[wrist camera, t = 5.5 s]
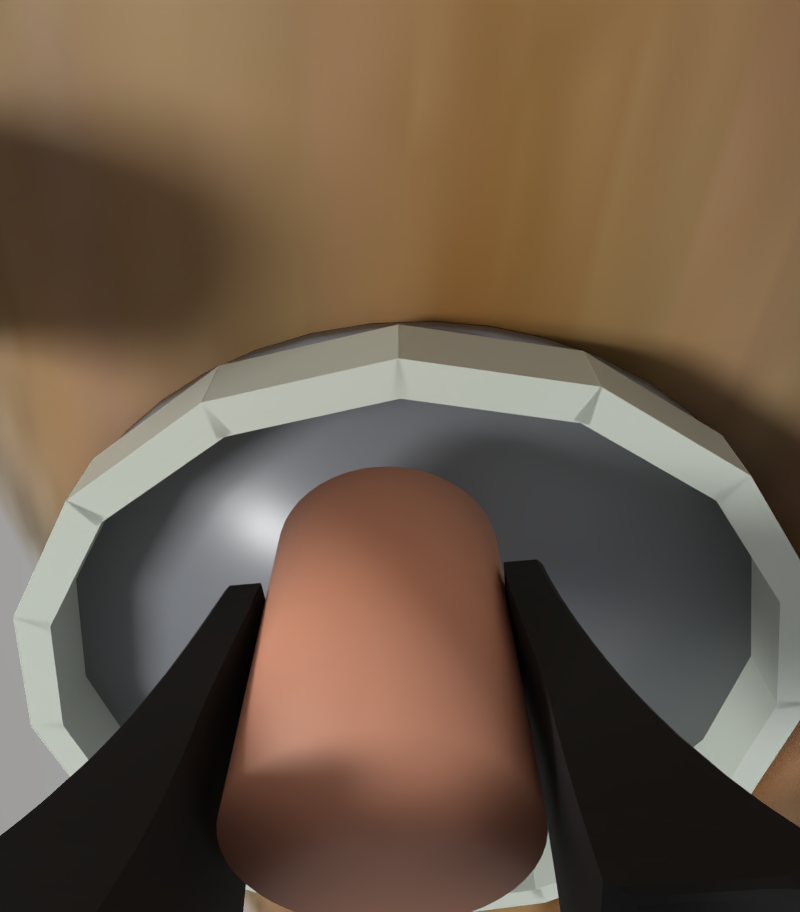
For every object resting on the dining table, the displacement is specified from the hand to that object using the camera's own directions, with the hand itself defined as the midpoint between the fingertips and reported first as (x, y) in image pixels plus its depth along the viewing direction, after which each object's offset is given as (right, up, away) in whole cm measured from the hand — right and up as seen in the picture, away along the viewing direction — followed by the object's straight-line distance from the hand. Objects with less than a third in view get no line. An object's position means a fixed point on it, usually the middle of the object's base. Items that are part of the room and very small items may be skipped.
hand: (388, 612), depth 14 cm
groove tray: (+1, -2, +6) cm, 7 cm away
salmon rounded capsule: (0, +1, +1) cm, 2 cm away
